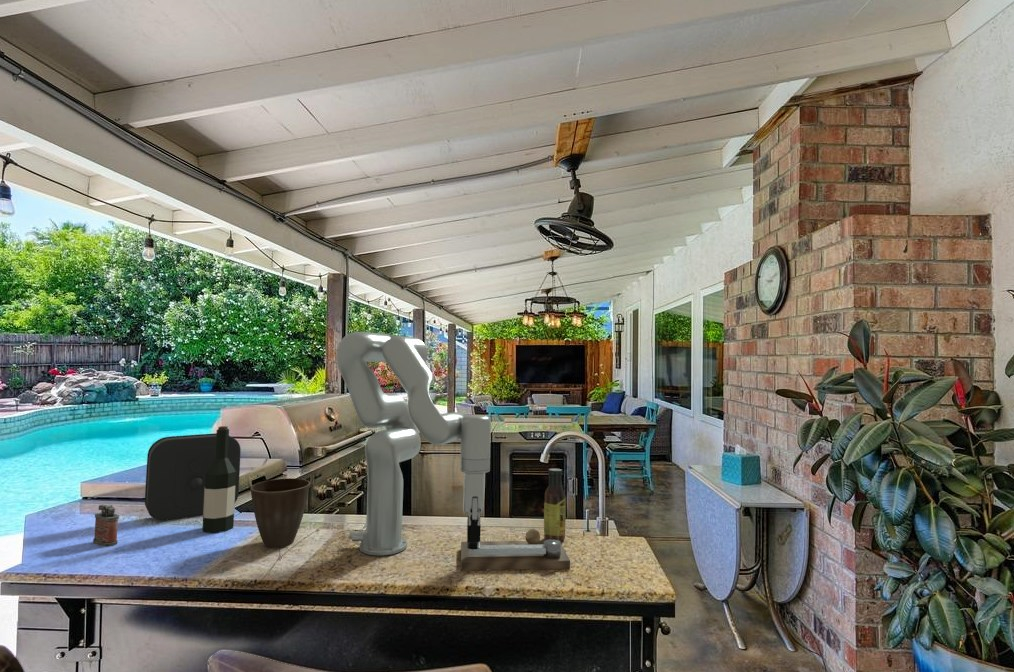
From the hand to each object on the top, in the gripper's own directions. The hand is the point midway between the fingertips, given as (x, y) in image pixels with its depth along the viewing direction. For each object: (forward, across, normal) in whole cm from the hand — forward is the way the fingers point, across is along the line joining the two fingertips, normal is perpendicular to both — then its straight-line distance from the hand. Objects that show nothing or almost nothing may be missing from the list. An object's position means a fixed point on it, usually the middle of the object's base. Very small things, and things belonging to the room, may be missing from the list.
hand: (473, 538), depth 124 cm
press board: (+7, -4, +10) cm, 13 cm away
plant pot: (+7, -17, -53) cm, 56 cm away
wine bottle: (+7, -30, -75) cm, 81 cm away
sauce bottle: (+7, -18, +24) cm, 31 cm away
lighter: (+7, -19, -99) cm, 101 cm away
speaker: (+7, -44, -90) cm, 100 cm away
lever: (+4, 0, +10) cm, 11 cm away
